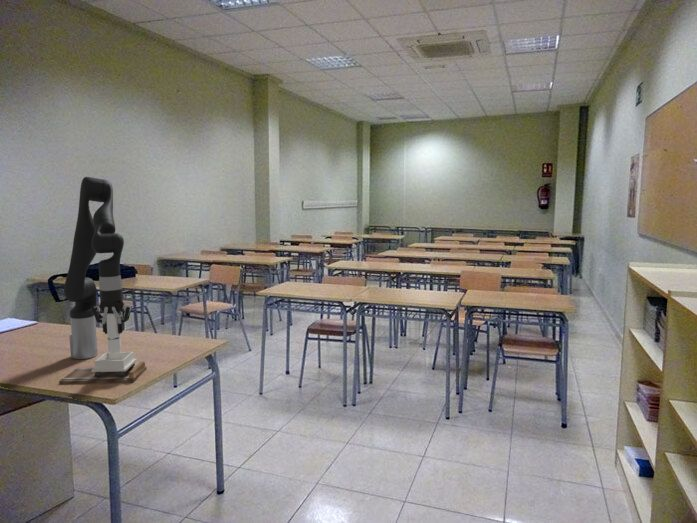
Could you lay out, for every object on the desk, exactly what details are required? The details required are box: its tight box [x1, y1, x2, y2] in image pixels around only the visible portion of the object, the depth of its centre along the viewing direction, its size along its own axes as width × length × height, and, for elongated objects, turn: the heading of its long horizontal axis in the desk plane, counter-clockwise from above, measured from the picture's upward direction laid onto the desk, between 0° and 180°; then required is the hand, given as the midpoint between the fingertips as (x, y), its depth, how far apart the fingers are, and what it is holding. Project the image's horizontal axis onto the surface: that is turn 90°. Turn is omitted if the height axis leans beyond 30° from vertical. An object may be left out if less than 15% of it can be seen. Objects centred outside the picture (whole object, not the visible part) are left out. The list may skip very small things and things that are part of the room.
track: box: [58, 361, 147, 385], centre depth 186 cm, size 26×14×3 cm, turn 94°
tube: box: [106, 313, 122, 354], centre depth 185 cm, size 4×4×15 cm
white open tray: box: [91, 351, 138, 378], centre depth 186 cm, size 12×12×6 cm
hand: (113, 333), depth 185 cm, fingers closed on tube, 4 cm apart
